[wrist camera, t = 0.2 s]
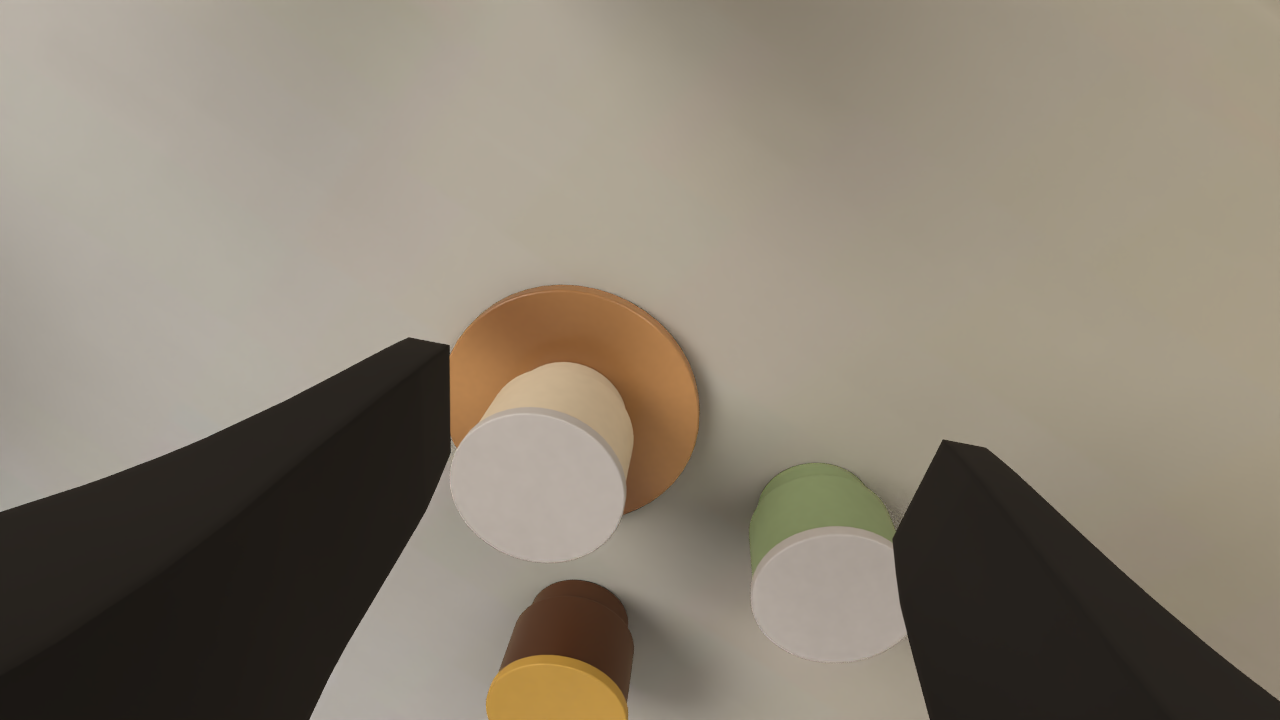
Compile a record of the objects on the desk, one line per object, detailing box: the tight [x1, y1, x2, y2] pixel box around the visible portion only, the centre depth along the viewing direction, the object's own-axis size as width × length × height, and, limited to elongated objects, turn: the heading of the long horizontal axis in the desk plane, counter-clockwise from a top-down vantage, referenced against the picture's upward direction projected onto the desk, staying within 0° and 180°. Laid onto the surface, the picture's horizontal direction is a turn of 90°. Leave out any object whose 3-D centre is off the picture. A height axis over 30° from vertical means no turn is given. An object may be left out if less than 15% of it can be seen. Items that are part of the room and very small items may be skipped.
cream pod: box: [450, 362, 634, 563], centre depth 19 cm, size 5×5×4 cm
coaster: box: [450, 285, 700, 515], centre depth 21 cm, size 8×8×1 cm
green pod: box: [749, 463, 907, 663], centre depth 20 cm, size 5×5×4 cm
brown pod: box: [486, 580, 634, 720], centre depth 23 cm, size 5×5×4 cm
